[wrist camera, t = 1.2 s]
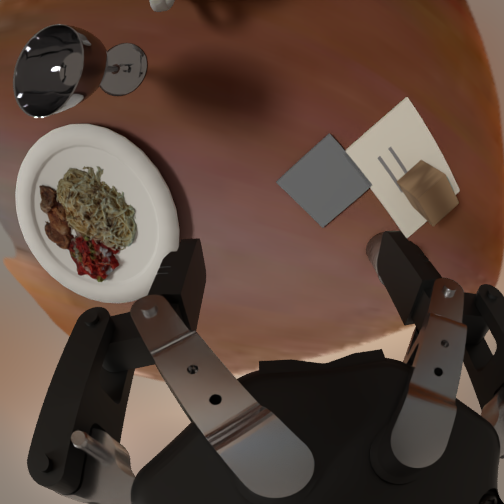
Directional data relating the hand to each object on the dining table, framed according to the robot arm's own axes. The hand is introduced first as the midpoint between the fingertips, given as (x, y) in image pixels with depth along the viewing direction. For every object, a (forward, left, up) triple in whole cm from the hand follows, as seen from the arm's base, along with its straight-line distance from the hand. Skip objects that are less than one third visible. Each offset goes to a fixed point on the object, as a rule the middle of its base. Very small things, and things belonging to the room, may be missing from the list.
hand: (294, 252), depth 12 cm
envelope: (-12, +16, -23) cm, 30 cm away
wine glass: (+4, -20, -24) cm, 31 cm away
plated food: (+25, -12, -24) cm, 37 cm away
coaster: (-2, +9, -23) cm, 25 cm away
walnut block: (-12, +18, -23) cm, 31 cm away
